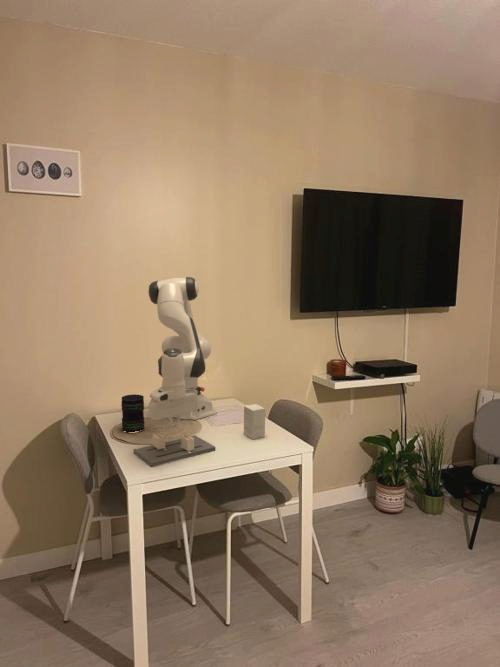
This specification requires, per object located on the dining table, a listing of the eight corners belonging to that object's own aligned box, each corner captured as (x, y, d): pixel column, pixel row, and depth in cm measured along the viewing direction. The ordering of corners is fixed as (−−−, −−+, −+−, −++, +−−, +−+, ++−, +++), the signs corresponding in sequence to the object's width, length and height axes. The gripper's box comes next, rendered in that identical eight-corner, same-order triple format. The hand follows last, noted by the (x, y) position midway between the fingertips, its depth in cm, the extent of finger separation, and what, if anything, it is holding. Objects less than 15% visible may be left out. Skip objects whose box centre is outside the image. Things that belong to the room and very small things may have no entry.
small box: (265, 437, 216) (265, 408, 214) (252, 439, 213) (252, 410, 211) (255, 431, 223) (256, 403, 221) (243, 434, 220) (243, 405, 218)
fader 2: (187, 445, 201) (187, 434, 200) (194, 449, 197) (194, 438, 196) (181, 447, 199) (181, 436, 198) (187, 451, 195) (187, 439, 194)
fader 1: (159, 444, 202) (159, 433, 201) (165, 447, 198) (165, 436, 197) (152, 445, 200) (152, 434, 199) (158, 449, 196) (158, 438, 195)
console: (195, 438, 214) (195, 434, 213) (215, 450, 201) (215, 446, 201) (133, 453, 197) (133, 449, 197) (151, 466, 184) (151, 462, 184)
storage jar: (149, 429, 224) (148, 397, 222) (130, 435, 217) (129, 401, 215) (135, 424, 231) (135, 393, 228) (117, 429, 223) (116, 397, 221)
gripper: (193, 385, 199) (193, 418, 202) (145, 394, 187) (147, 429, 189) (201, 388, 194) (202, 422, 197) (153, 398, 182) (154, 434, 184)
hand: (174, 425), depth 193 cm, fingers closed
